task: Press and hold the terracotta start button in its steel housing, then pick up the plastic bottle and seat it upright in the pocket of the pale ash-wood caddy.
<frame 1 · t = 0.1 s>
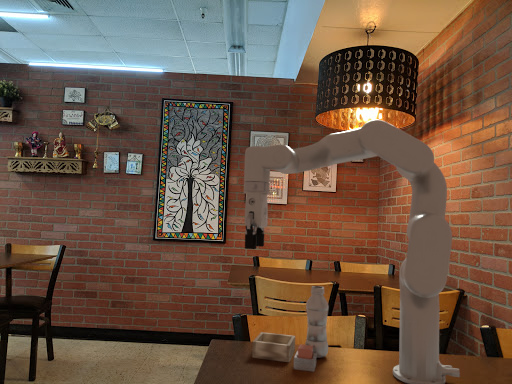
hand: (254, 247, 117), 31 cm above the table, tool pointing down, fingers open, 9 cm apart
start button: (305, 353, 109), point 4 cm above the table, slide at 0.0 cm
button housing: (305, 366, 109), on the table
plastic bottle: (316, 357, 117), on the table
bottle caddy: (274, 354, 118), on the table
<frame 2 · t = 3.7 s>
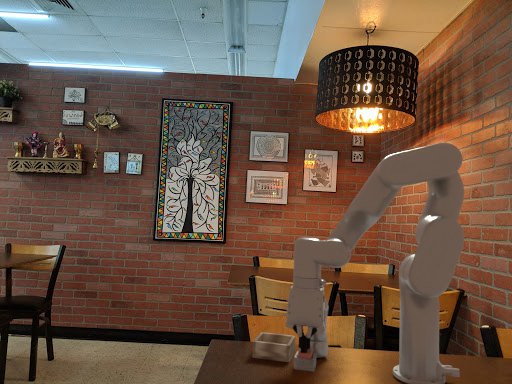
hand: (304, 351, 109), 4 cm above the table, tool pointing down, fingers closed
start button: (305, 357, 109), point 2 cm above the table, slide at 1.1 cm, touching gripper
everything else where it was.
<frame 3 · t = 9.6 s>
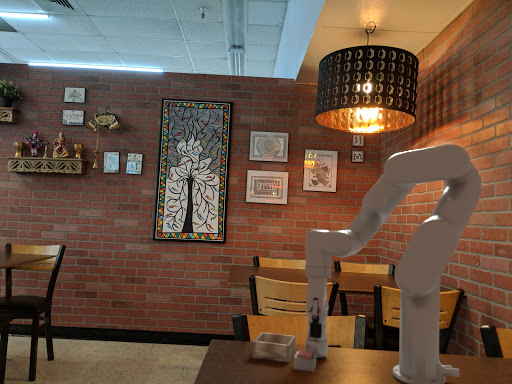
hand: (316, 333, 117), 6 cm above the table, tool pointing down, fingers closed on plastic bottle, 5 cm apart
start button: (305, 358, 109), point 2 cm above the table, slide at 1.5 cm
plastic bottle: (316, 357, 117), on the table, touching gripper
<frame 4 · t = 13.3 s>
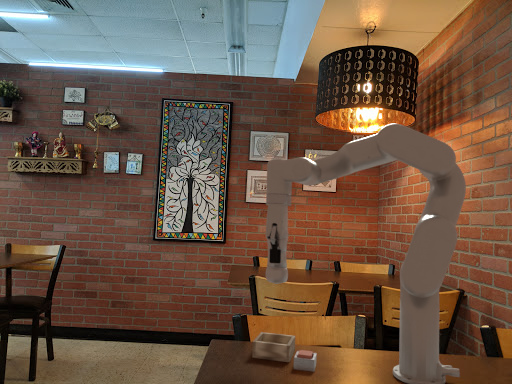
hand: (277, 261, 119), 27 cm above the table, tool pointing down, fingers closed on plastic bottle, 5 cm apart
plastic bottle: (276, 284, 119), point 20 cm above the table, touching gripper
everything else where it was.
when the fingers open (9 cm above the table, at t = 17.1 s): plastic bottle drops 1 cm, resting on bottle caddy.
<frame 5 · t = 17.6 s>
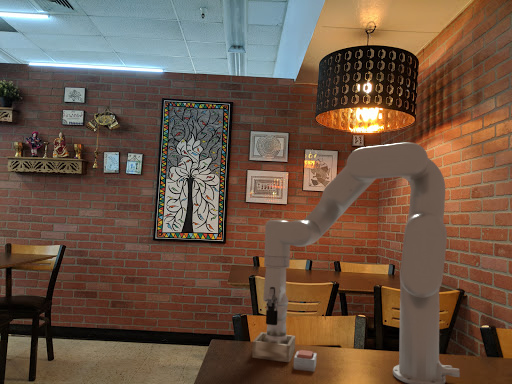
hand: (275, 320, 118), 10 cm above the table, tool pointing down, fingers open, 9 cm apart
plastic bottle: (275, 351, 118), point 1 cm above the table, touching bottle caddy
everything else where it was.
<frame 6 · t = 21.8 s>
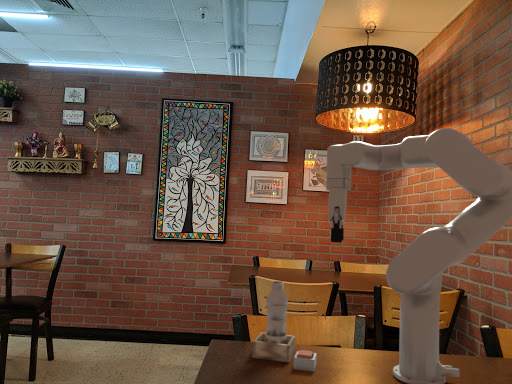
hand: (337, 241, 123), 33 cm above the table, tool pointing down, fingers open, 9 cm apart
nothing on the table moved.
at the end: start button slide at 1.5 cm; plastic bottle 0.9 cm off-centre on the bottle caddy, point 0.6 cm above the bottle caddy's base; plastic bottle tilted 0° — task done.
